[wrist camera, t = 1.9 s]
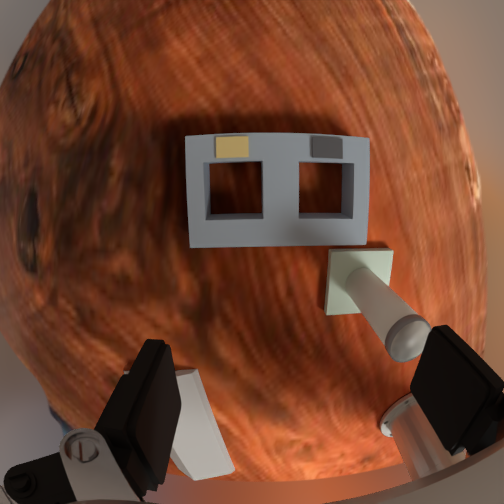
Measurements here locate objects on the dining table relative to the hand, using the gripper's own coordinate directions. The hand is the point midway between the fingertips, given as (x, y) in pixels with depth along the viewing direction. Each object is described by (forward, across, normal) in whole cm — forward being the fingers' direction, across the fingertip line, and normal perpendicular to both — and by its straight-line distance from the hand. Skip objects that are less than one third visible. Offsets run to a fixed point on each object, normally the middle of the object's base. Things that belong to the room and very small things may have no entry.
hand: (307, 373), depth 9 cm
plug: (+23, -11, +6) cm, 26 cm away
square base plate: (+24, -11, +6) cm, 27 cm away
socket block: (+24, -1, -4) cm, 24 cm away
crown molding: (+25, +13, +35) cm, 45 cm away
